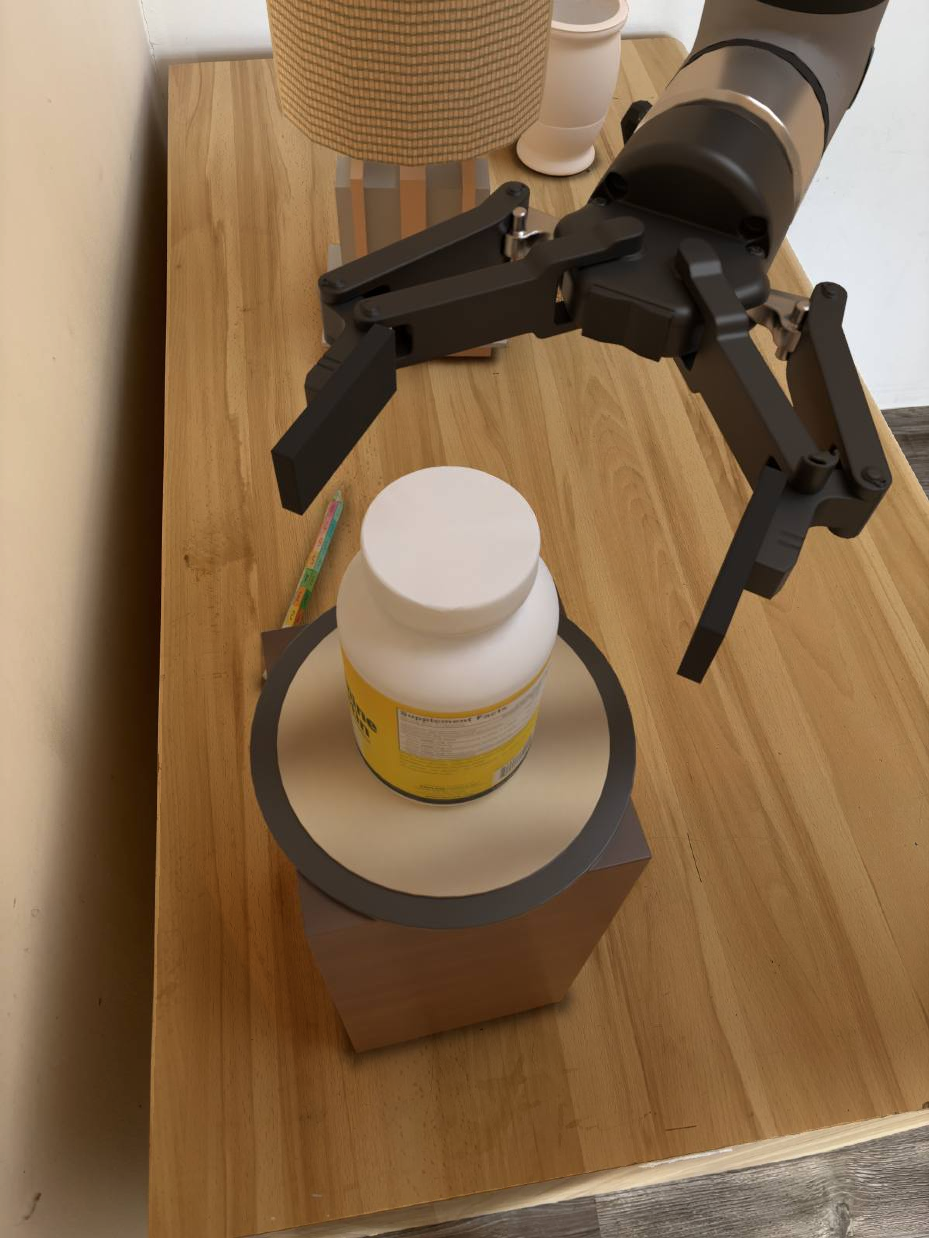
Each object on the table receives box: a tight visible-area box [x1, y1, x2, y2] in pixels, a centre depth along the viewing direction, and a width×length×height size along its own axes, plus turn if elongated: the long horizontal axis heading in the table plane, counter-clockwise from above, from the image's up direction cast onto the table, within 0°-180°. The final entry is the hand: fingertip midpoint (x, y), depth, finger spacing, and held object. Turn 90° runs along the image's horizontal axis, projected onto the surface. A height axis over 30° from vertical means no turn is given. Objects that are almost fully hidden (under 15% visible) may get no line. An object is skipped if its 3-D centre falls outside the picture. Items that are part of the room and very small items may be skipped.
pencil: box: [262, 484, 345, 681], centre depth 69 cm, size 1×1×18 cm
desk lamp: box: [265, 0, 554, 357], centre depth 71 cm, size 20×20×35 cm
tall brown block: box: [248, 578, 653, 1054], centre depth 45 cm, size 14×14×27 cm
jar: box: [516, 0, 630, 177], centre depth 94 cm, size 11×10×15 cm
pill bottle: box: [336, 465, 559, 806], centre depth 29 cm, size 6×6×12 cm
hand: (481, 567), depth 28 cm, fingers open, 13 cm apart
